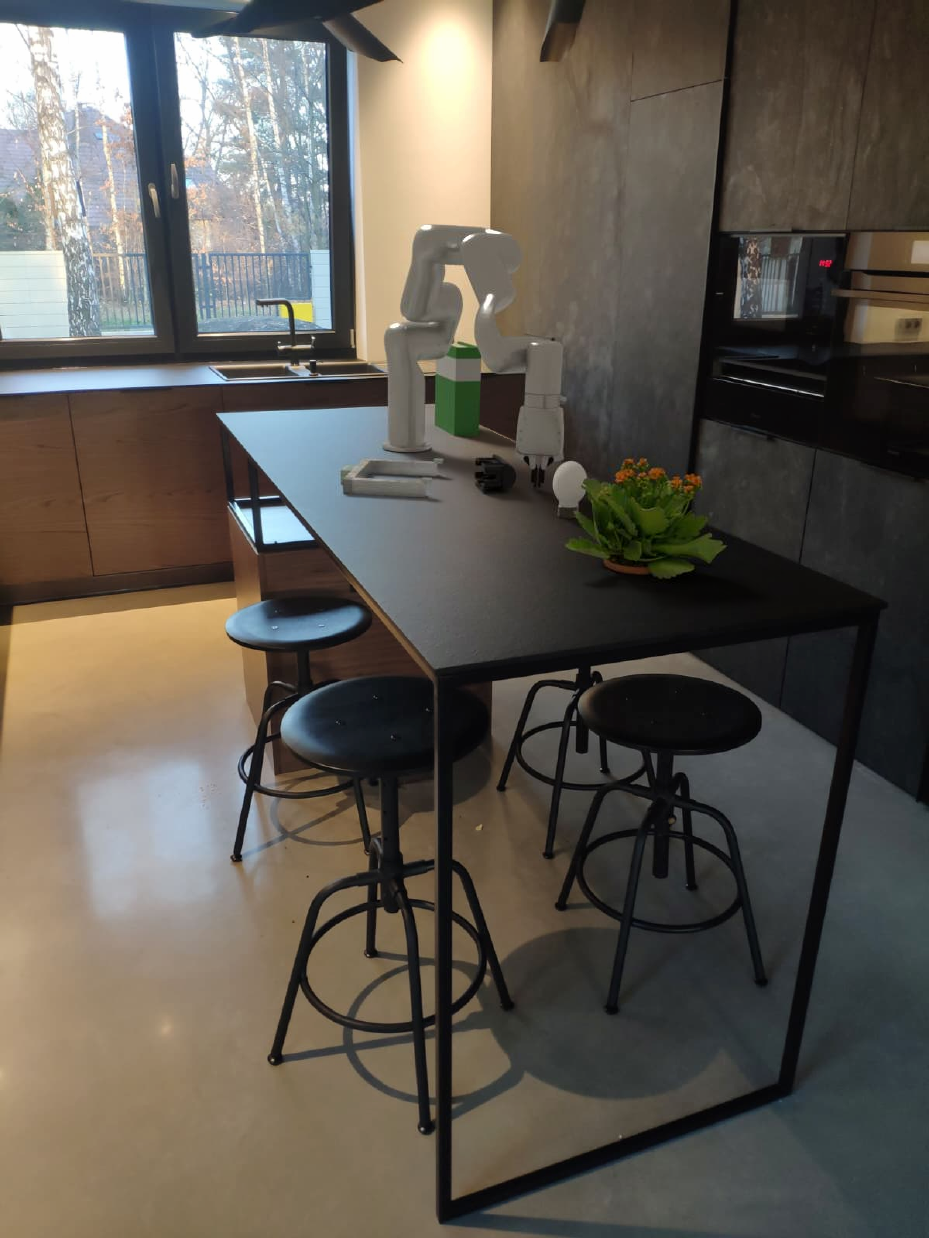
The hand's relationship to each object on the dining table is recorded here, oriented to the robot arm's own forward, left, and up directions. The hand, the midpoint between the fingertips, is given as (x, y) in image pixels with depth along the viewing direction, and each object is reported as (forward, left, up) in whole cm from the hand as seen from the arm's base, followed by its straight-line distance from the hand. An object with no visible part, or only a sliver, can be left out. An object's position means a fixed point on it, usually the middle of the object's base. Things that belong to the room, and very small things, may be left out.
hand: (537, 486), depth 206 cm
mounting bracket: (0, -33, -1) cm, 33 cm away
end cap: (0, -9, -1) cm, 9 cm away
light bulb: (+20, +7, -1) cm, 21 cm away
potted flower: (+50, +17, -1) cm, 53 cm away
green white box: (-70, -25, -1) cm, 75 cm away
